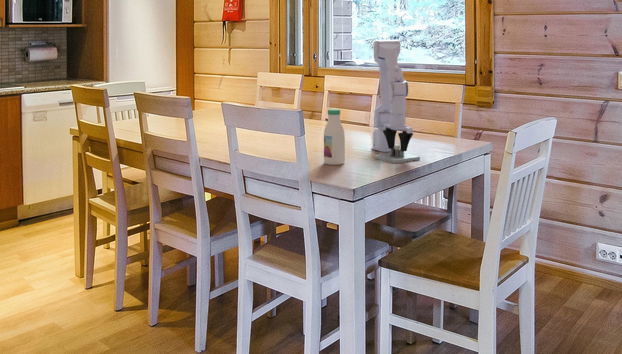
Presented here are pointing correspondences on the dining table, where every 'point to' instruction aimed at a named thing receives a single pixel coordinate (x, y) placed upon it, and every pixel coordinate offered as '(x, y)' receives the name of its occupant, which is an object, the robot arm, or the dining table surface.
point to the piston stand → (397, 159)
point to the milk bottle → (334, 139)
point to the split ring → (396, 152)
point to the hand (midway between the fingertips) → (397, 149)
